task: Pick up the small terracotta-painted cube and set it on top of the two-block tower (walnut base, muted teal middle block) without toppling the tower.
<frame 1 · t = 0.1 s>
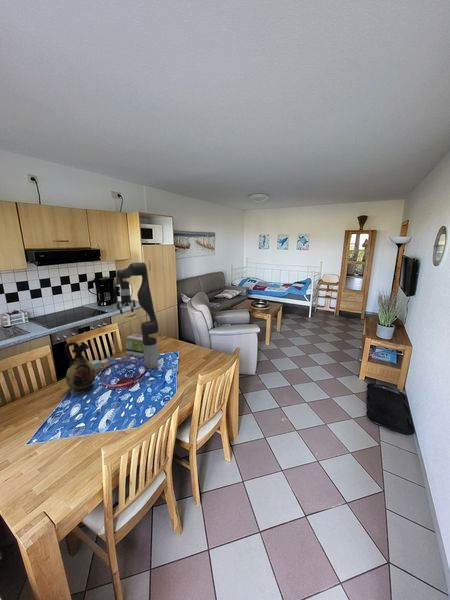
hand: (127, 313, 202), 29 cm above the table, fingers open, 8 cm apart
tea box: (138, 354, 193), on the table
walnut base block: (96, 372, 165), on the table, touching teal middle block
ceramic jug: (81, 388, 146), on the table
teal middle block: (96, 367, 164), point 4 cm above the table, touching walnut base block
terracotta cube: (104, 367, 172), on the table
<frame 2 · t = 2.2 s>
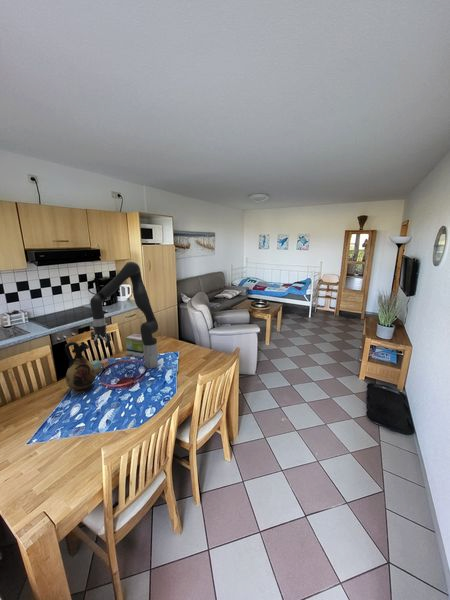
hand: (101, 346, 169), 16 cm above the table, fingers open, 8 cm apart
nothing on the table moved.
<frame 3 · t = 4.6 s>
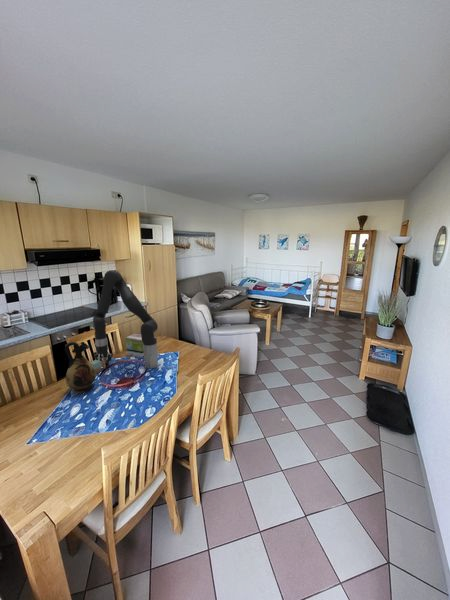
hand: (104, 366, 172), 1 cm above the table, fingers closed on terracotta cube, 4 cm apart
terracotta cube: (104, 367, 172), on the table, touching gripper
everything else where it was.
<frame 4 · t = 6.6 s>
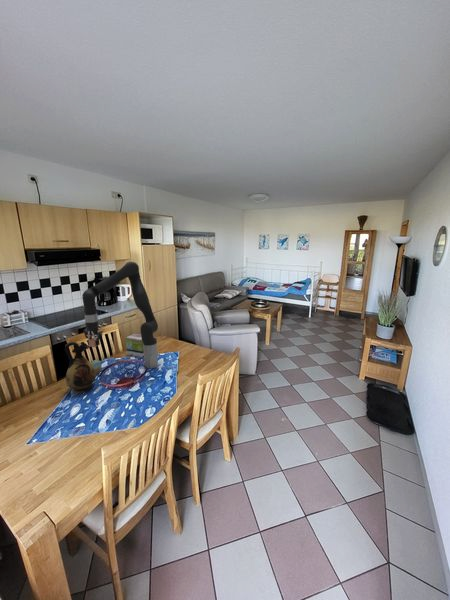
hand: (94, 344, 162), 20 cm above the table, fingers closed on terracotta cube, 4 cm apart
terracotta cube: (94, 345, 162), point 19 cm above the table, touching gripper
everything else where it was.
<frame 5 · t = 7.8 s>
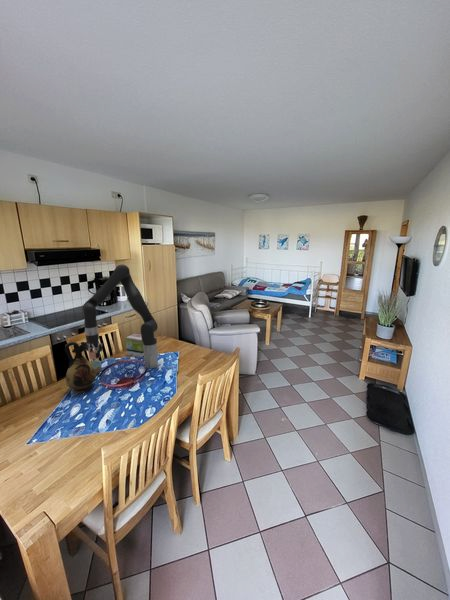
hand: (94, 356, 162), 11 cm above the table, fingers closed on terracotta cube, 4 cm apart
terracotta cube: (94, 357, 162), point 11 cm above the table, touching gripper
everything else where it was.
when the fingers open (9 cm above the table, at t = 8.9 s): terracotta cube drops 1 cm, resting on teal middle block.
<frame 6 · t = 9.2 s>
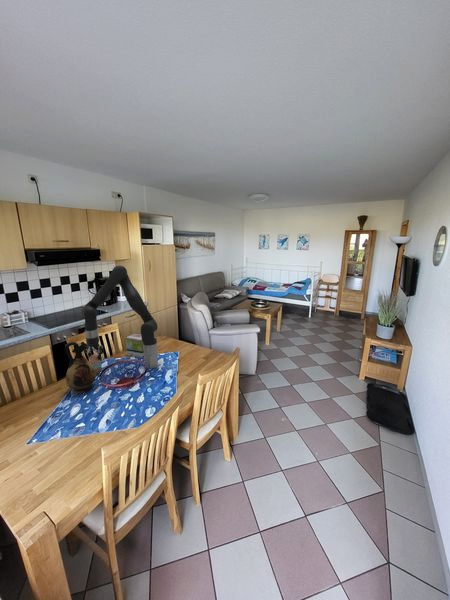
hand: (94, 359, 162), 10 cm above the table, fingers open, 7 cm apart
teal middle block: (95, 367, 164), point 4 cm above the table, touching terracotta cube, walnut base block
terracotta cube: (95, 362, 163), point 8 cm above the table, touching teal middle block
everything else where it was.
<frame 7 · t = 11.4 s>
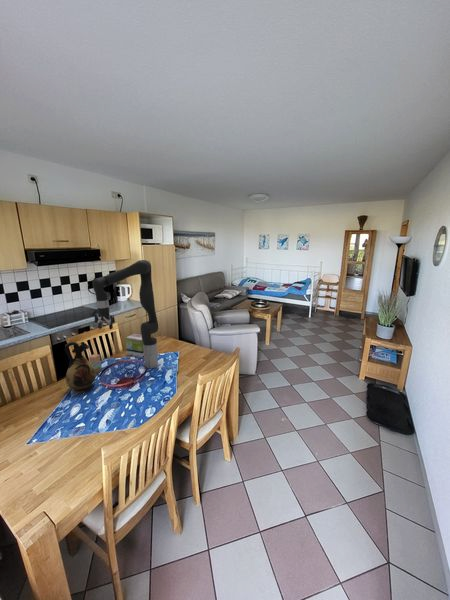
hand: (105, 328, 170), 27 cm above the table, fingers open, 8 cm apart
nothing on the table moved.
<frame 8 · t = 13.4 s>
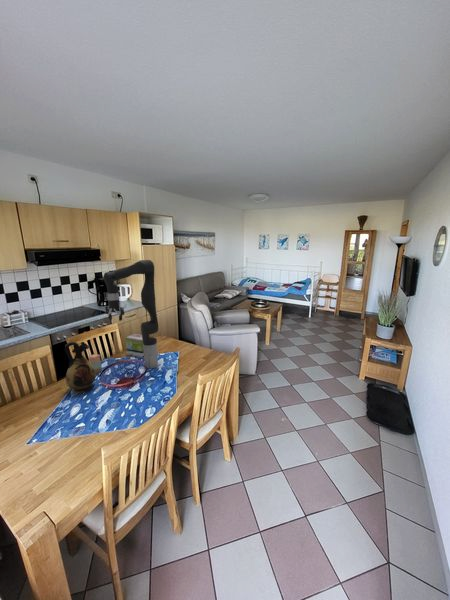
hand: (115, 320, 180), 30 cm above the table, fingers open, 8 cm apart
nothing on the table moved.
at the end: terracotta cube 0.0 cm off-centre on the teal middle block, point 4.0 cm above the teal middle block's base; teal middle block tilted 0°; the gripper is holding nothing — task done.
